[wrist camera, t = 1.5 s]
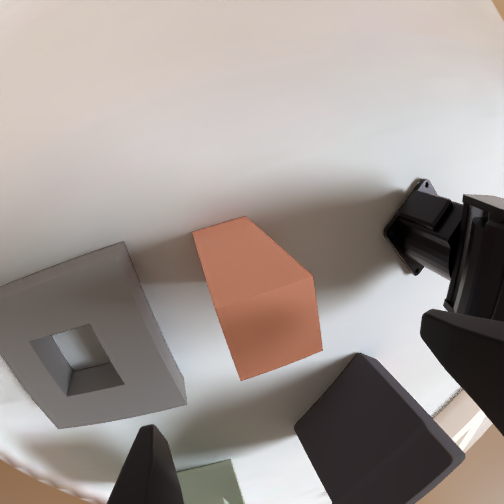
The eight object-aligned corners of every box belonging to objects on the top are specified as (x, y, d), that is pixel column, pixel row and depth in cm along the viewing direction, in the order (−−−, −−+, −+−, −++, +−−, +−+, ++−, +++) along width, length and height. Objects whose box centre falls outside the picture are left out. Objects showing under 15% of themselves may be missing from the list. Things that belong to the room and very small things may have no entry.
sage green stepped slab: (203, 414, 25) (225, 505, 16) (232, 462, 28) (255, 533, 19) (92, 437, 23) (86, 520, 14) (137, 481, 26) (144, 549, 18)
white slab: (480, 365, 40) (502, 384, 34) (479, 411, 51) (493, 425, 45) (352, 476, 40) (368, 502, 34) (385, 491, 51) (396, 508, 45)
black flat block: (315, 430, 30) (376, 532, 16) (287, 426, 28) (347, 541, 15) (379, 358, 28) (470, 455, 15) (354, 348, 27) (455, 460, 13)
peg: (245, 216, 20) (313, 276, 11) (257, 265, 21) (322, 350, 12) (192, 232, 19) (215, 309, 10) (207, 281, 21) (240, 381, 12)
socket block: (123, 241, 18) (116, 257, 16) (183, 378, 23) (187, 404, 20) (-8, 290, 16) (-26, 308, 14) (64, 405, 21) (58, 429, 18)
